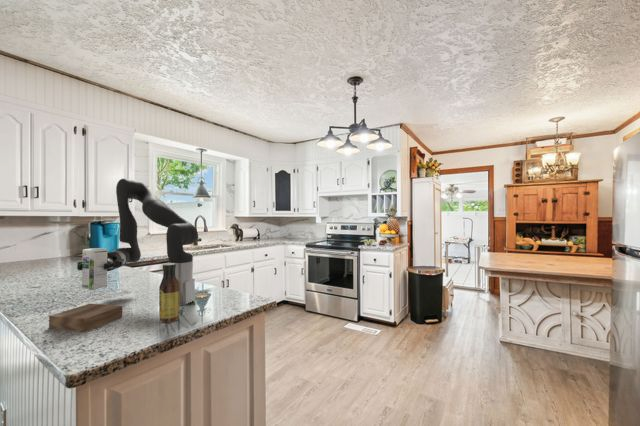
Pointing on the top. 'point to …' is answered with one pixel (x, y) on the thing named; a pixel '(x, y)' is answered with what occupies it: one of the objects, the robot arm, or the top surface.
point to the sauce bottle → (169, 294)
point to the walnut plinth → (85, 317)
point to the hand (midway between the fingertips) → (92, 267)
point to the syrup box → (94, 268)
